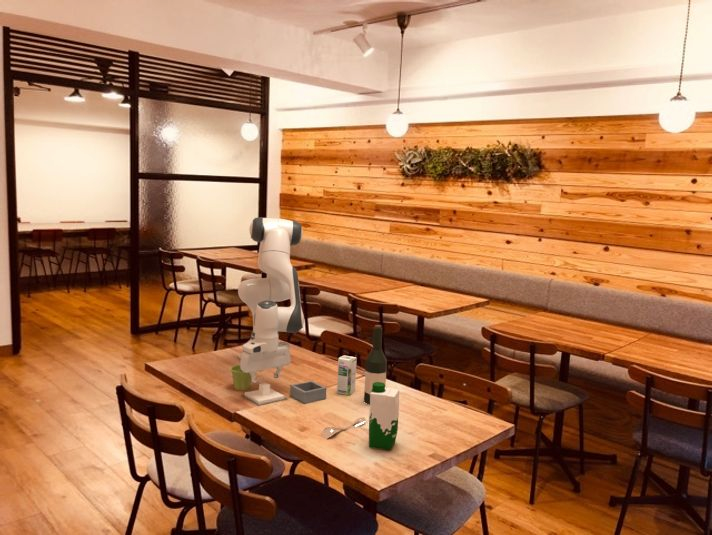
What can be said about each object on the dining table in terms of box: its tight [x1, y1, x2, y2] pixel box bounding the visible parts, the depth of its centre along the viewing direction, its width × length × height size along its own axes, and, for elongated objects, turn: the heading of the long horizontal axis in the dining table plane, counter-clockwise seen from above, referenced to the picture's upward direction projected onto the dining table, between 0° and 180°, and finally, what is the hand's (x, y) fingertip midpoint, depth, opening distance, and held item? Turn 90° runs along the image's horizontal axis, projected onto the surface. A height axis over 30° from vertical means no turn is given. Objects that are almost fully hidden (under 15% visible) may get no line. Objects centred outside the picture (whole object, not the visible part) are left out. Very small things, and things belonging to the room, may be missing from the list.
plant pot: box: [229, 364, 252, 391], centre depth 239 cm, size 9×9×9 cm
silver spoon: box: [321, 416, 366, 440], centre depth 204 cm, size 20×4×5 cm
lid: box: [244, 382, 285, 404], centre depth 230 cm, size 11×11×5 cm
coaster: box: [241, 394, 288, 407], centre depth 230 cm, size 13×13×1 cm
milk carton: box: [368, 382, 400, 451], centre depth 192 cm, size 9×9×20 cm
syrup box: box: [336, 354, 358, 396], centre depth 240 cm, size 6×6×14 cm
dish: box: [289, 380, 328, 405], centre depth 231 cm, size 10×10×5 cm
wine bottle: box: [363, 324, 388, 406], centre depth 230 cm, size 8×8×30 cm
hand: (265, 379), depth 229 cm, fingers open, 8 cm apart
